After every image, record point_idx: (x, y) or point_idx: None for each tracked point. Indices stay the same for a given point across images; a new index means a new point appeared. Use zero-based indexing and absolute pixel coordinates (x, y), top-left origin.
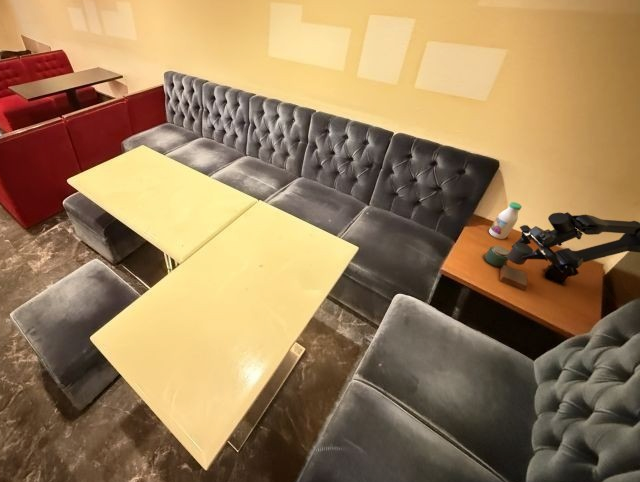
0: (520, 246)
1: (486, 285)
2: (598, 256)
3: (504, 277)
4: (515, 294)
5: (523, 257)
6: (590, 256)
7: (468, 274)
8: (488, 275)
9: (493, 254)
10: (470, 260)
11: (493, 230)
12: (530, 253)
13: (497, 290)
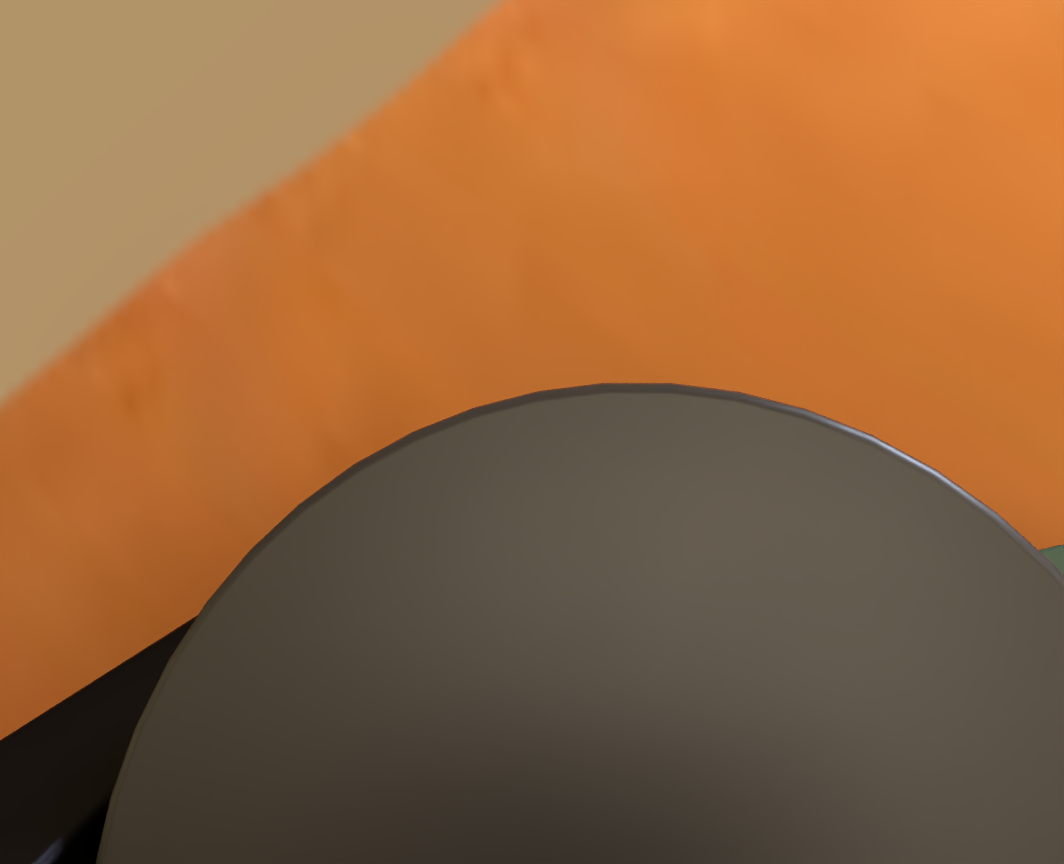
0: (764, 743)
1: (406, 165)
2: None
3: None
4: (165, 527)
5: None
6: None
7: (664, 18)
8: (614, 354)
9: (1049, 550)
10: (1017, 264)
11: None
12: (3, 861)
13: (287, 276)
